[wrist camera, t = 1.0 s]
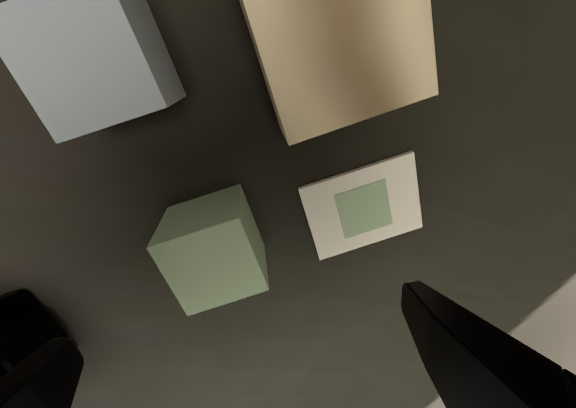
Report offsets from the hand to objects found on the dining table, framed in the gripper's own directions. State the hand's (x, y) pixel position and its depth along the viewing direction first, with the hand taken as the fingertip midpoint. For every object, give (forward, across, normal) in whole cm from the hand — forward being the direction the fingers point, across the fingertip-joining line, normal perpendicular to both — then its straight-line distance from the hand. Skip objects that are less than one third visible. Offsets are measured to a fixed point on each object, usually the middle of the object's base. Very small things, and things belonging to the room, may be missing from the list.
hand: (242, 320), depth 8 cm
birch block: (+13, -6, -6) cm, 16 cm away
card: (+13, -7, +4) cm, 15 cm away
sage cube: (+13, +3, +4) cm, 14 cm away
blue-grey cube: (+13, +6, -7) cm, 16 cm away
